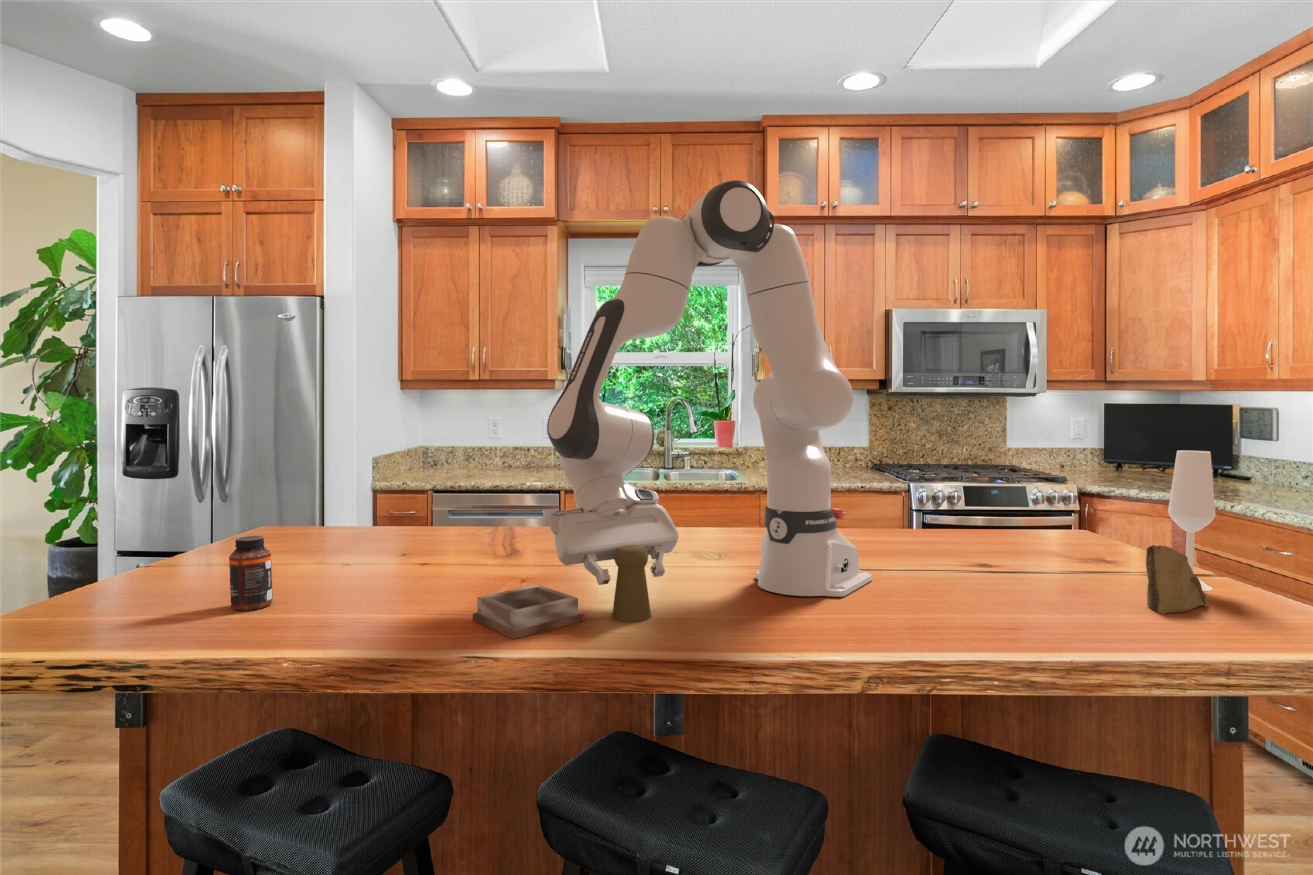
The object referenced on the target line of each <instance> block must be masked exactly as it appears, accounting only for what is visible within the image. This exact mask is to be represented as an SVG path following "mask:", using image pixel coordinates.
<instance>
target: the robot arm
mask: <svg viewBox="0 0 1313 875" xmlns="http://www.w3.org/2000/svg"><path fill="white" fill-rule="evenodd" d="M730 259H731V261H732V262H734V263H735V265H736V266H737V267H738V269H739V271H740V273H741V275H742V278H743V282H744V289H745V295H746V299H747V304H748V309H749V314H750V315H749V316H750V319H751V324H752V329H753V334H754V339H755V343H757V345H758V346H759V347H760V349H761V350H762V352H763V354H764V356H765V357H766V360H767V363H768V364H769V367H770V370H771V372H770V373H769V374H768V375H766V376H765V377H763V378H762V379H761V380H760V381H759V382H758V383H757V385H756V386H755V388H754V392H753V395H752V396H753V397H752V399H753V400H752V401H753V407H754V409H755V412H756V413H757V415H758V419H759V423H760V424H759V425H760V428H761V434H762V439H763V446H764V450H765V458H766V469H767V470H766V472H767V473H766V474H767V475H766V476H767V477H766V478H767V479H766V480H767V481H766V482H767V484H766V485H767V486H766V488H767V491H766V492H767V493H766V494H767V498H766V500H767V502H766V503H767V506H765V508H764V514H763V518H764V527H765V528H766V531H765V533H764V534H763V535H762V538H761V548H760V558H759V560H760V561H759V569H758V570H757V571H755V579H756V580H757V586H758V587H759V588H760V589H762V590H765V591H768V592H771V593H776V594H780V595H784V596H785V595H786V596H787V595H788V596H797V597H822V596H823V597H836V598H837V597H838V598H840V597H845V596H847V595H849V594H850V593H853V592H854V591H855V590H857V589H860V588H861V587H863V586H865V585H866V584H868V583H870V582H871V581H873V576H872V574H871V573H869V572H867V571H864V570H861V569H860V567H859V566H860V565H859V551H858V548H857V547H856V546H855V545H854V544H853V543H852V542H851V541H850V540H848V539H847V538H846V536H844V534H842V532H840V530H838V529H837V528H838V524H837V521H836V520H840V521H842V520H843V519H845V518H844V517H846V516H845V515H846V512H845V511H844V510H845V509H843V508H836V507H831V504H832V503H831V500H832V498H831V495H832V494H831V492H832V491H831V489H832V466H831V462H830V460H829V458H828V456H827V454H826V452H825V449H824V447H823V442H822V438H821V432H820V431H824V430H827V429H830V428H831V427H832V428H833V427H835V426H837V425H838V424H840V423H842V422H843V421H844V420H845V419H846V418H847V416H848V415H849V414H850V412H851V410H852V407H853V403H854V392H853V388H852V385H851V383H850V381H849V380H848V378H846V376H845V375H844V374H843V373H842V372H841V371H840V370H839V368H838V367H837V365H836V363H835V361H834V359H833V357H832V355H831V353H830V350H829V348H828V345H827V343H826V340H825V339H824V336H823V333H822V331H821V328H820V324H819V322H818V321H819V320H818V316H817V310H816V306H815V301H814V296H813V292H812V286H811V281H810V276H809V273H808V268H807V263H806V260H805V256H804V254H803V251H802V248H801V245H800V242H799V240H798V238H797V235H796V233H795V232H794V231H793V229H792V228H791V227H789V226H787V225H784V224H780V223H775V218H774V215H773V214H772V212H771V211H770V209H769V208H768V206H767V203H766V201H765V199H764V197H763V196H762V194H761V193H760V192H759V190H758V189H757V188H756V187H754V186H753V184H750V183H748V182H746V181H743V180H736V179H735V180H728V181H723V182H721V183H719V184H716V185H715V186H714V187H712V188H711V189H710V190H709V191H708V192H706V193H705V194H704V195H702V196H701V197H700V198H699V199H698V200H697V201H696V202H695V203H694V204H693V206H692V207H691V208H690V209H689V211H688V212H687V213H686V214H684V216H682V218H679V219H678V218H676V217H673V216H666V215H665V216H663V215H662V216H655V217H652V218H650V219H648V220H646V222H645V223H644V224H643V225H642V227H641V229H640V231H639V233H638V235H637V238H636V240H635V242H634V244H633V248H632V249H631V252H630V255H629V259H628V262H627V265H626V269H625V273H624V277H623V280H622V283H621V285H620V288H619V290H618V291H617V293H616V294H615V296H614V297H613V298H612V299H611V300H610V299H609V300H607V301H605V302H604V303H602V304H601V305H600V307H599V309H598V310H597V311H596V313H595V315H594V318H593V319H592V321H591V323H590V326H589V328H588V331H587V332H586V334H585V337H584V340H583V342H582V345H581V347H580V349H579V352H578V354H577V357H576V359H575V362H574V365H573V367H572V369H571V371H570V374H569V376H568V378H567V381H566V384H565V386H564V389H563V391H562V392H561V394H560V396H559V398H558V400H557V401H556V402H555V404H554V406H553V408H552V409H551V412H550V413H549V416H548V419H547V424H546V430H547V436H548V438H549V441H550V443H551V445H552V447H553V449H555V451H556V453H558V455H559V456H560V460H561V465H562V468H563V471H564V474H565V478H566V481H567V483H568V484H569V485H568V486H569V487H571V489H572V490H573V500H574V502H575V505H576V508H572V509H566V510H564V509H563V510H562V509H560V510H555V511H554V513H552V514H550V515H549V517H548V524H549V528H550V531H551V532H552V533H553V535H554V541H555V542H554V543H555V548H556V549H555V550H556V555H557V557H558V560H559V562H561V563H562V564H563V565H565V566H571V565H580V564H583V565H584V569H585V570H587V571H588V572H589V573H590V574H591V575H592V576H594V577H595V580H596V582H597V585H598V586H602V585H603V586H604V585H608V584H609V582H610V581H611V575H610V574H609V573H610V572H609V571H608V568H602V567H601V566H600V565H599V564H598V563H597V562H601V561H602V562H603V561H605V562H606V561H613V560H614V555H615V552H616V550H617V548H619V547H620V546H624V545H640V546H643V547H644V548H646V550H647V552H648V556H650V558H651V559H652V560H654V562H653V563H652V565H651V567H650V568H649V570H650V573H651V574H652V575H651V576H652V577H653V578H658V577H659V578H660V577H663V576H664V574H665V572H666V570H665V567H664V564H663V559H664V554H670V553H671V552H672V551H673V550H674V548H675V547H676V546H677V544H678V541H679V532H678V529H677V528H676V525H675V524H674V521H673V520H672V517H671V516H670V514H669V513H668V511H667V510H666V508H665V507H664V506H662V505H660V504H658V503H659V500H660V496H659V494H658V493H657V492H656V491H654V490H651V489H646V488H641V487H637V486H633V485H630V484H628V483H625V481H624V480H623V478H624V476H626V475H629V474H630V473H632V472H633V471H635V469H637V468H638V467H639V466H640V465H642V463H643V462H644V461H646V460H647V459H648V457H649V456H650V455H651V453H652V451H653V448H654V446H655V430H654V426H653V423H652V421H651V419H650V417H649V416H648V415H647V414H646V413H644V412H641V411H639V410H636V409H631V408H627V407H625V406H621V405H615V404H612V403H609V402H604V401H601V400H600V393H601V390H602V389H603V386H604V383H605V381H606V378H607V375H608V373H609V370H610V368H611V366H612V364H613V361H614V358H615V356H616V354H617V352H618V350H619V349H620V348H621V347H622V346H623V345H624V344H626V343H628V342H630V341H633V340H638V339H646V338H653V337H658V336H661V335H664V334H666V333H668V332H669V331H671V330H673V328H675V327H676V326H677V325H678V324H679V323H680V321H681V319H682V317H683V315H684V312H685V309H686V306H687V302H688V297H689V292H690V288H691V286H692V279H693V278H692V277H693V274H694V272H695V270H696V268H697V267H712V266H716V265H719V264H721V263H723V262H726V261H727V260H730Z"/></svg>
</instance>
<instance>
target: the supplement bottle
mask: <svg viewBox="0 0 1313 875" xmlns="http://www.w3.org/2000/svg"><path fill="white" fill-rule="evenodd" d="M234 546H235V550H234V551H233V552H231V553H230V555H229V557H228V558H229V559H228V560H229V561H228V563H229V590H230V605H231V606H230V607H231V608H232V609H233V610H235V611H239V610H242V611H243V610H248V611H254V610H253V609H255V610H261V609H263V608H266V606H267V607H269V606H270V605H271V604H273V575H272V574H273V573H272V570H273V569H272V554H271V553H272V552H271V551H270V550H269V549H268V548H266V547H265V537H264V536H263V535H249V536H247V535H246V536H242V537H238V538H237V537H236V539H235V545H234Z"/></svg>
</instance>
